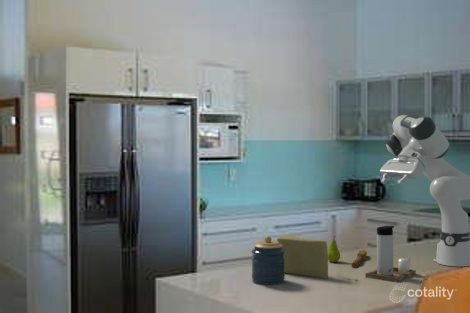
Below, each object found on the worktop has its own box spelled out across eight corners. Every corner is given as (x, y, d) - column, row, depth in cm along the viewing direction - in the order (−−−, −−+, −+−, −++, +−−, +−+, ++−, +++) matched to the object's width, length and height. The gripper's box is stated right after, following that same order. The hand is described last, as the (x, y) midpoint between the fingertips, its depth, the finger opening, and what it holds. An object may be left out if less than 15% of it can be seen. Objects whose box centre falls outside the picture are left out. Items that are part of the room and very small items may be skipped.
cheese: (333, 276, 246) (334, 239, 246) (320, 280, 239) (320, 242, 239) (289, 268, 261) (289, 233, 260) (275, 272, 254) (275, 236, 253)
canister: (288, 278, 242) (288, 234, 242) (280, 286, 230) (279, 239, 229) (257, 276, 246) (257, 233, 246) (247, 283, 234) (247, 238, 234)
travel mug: (394, 278, 237) (394, 227, 236) (377, 277, 238) (376, 226, 238) (394, 274, 243) (393, 224, 242) (377, 274, 244) (376, 224, 244)
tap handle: (351, 261, 262) (360, 249, 290) (351, 268, 262) (360, 255, 290) (358, 262, 261) (367, 249, 289) (358, 269, 261) (367, 256, 289)
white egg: (401, 272, 247) (401, 257, 247) (411, 274, 244) (411, 259, 244) (396, 274, 244) (396, 259, 243) (406, 275, 241) (407, 260, 241)
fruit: (323, 262, 274) (323, 235, 274) (331, 260, 279) (331, 234, 279) (335, 264, 270) (335, 237, 270) (343, 261, 275) (343, 235, 274)
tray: (385, 272, 253) (385, 265, 253) (415, 276, 244) (415, 270, 244) (365, 280, 239) (365, 273, 239) (396, 285, 231) (396, 278, 231)
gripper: (387, 153, 259) (369, 176, 255) (423, 154, 241) (404, 179, 236) (395, 163, 261) (378, 187, 257) (431, 165, 243) (412, 190, 239)
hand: (390, 183), depth 246 cm, fingers open, 8 cm apart
